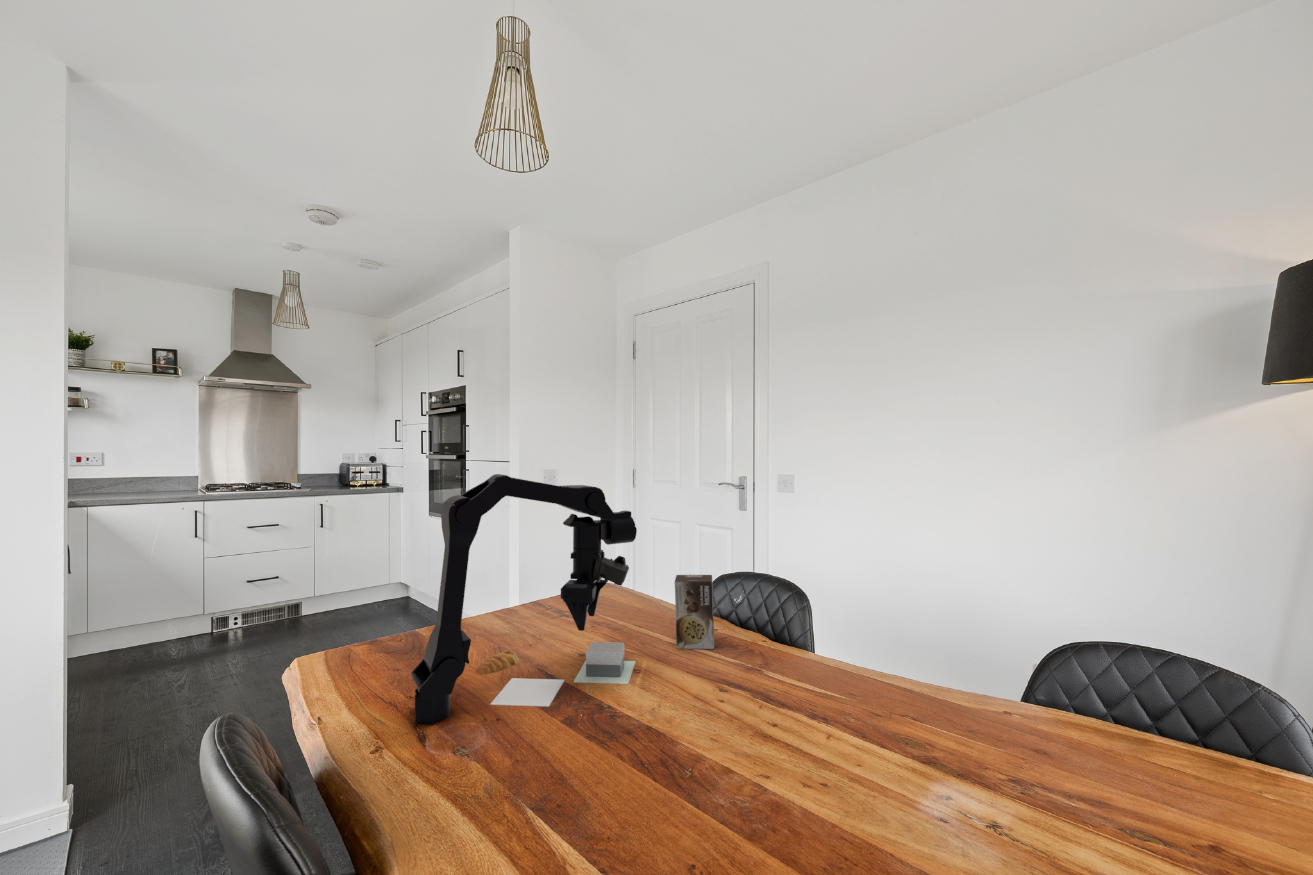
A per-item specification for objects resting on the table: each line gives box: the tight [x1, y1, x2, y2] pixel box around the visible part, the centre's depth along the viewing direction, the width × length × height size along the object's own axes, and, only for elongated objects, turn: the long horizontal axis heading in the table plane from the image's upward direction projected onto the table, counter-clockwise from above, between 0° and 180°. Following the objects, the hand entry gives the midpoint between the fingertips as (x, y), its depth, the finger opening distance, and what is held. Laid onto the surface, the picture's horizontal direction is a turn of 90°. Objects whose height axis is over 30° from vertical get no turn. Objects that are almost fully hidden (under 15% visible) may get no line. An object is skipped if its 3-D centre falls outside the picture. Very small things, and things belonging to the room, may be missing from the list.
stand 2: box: [573, 659, 636, 685], centre depth 113 cm, size 11×11×2 cm
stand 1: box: [489, 677, 565, 708], centre depth 104 cm, size 11×11×2 cm
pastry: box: [475, 649, 520, 676], centre depth 117 cm, size 9×7×4 cm
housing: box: [585, 641, 625, 677], centre depth 113 cm, size 6×7×5 cm
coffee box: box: [674, 574, 715, 650], centre depth 131 cm, size 9×6×16 cm
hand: (586, 622), depth 112 cm, fingers open, 9 cm apart
